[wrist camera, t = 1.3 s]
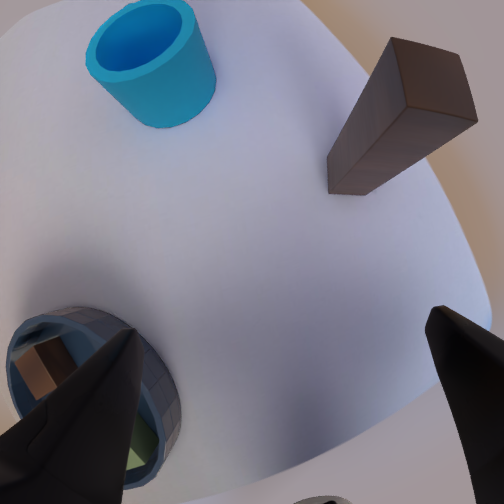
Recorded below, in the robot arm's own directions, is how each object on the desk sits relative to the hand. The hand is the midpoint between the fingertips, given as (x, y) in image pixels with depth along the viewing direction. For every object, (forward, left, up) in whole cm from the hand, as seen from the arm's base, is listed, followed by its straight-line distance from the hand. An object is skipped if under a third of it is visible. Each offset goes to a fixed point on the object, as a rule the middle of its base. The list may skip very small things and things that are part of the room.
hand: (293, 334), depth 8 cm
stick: (+4, -9, -15) cm, 17 cm away
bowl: (0, +20, -15) cm, 25 cm away
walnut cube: (+4, +22, -14) cm, 26 cm away
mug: (+21, -2, -15) cm, 26 cm away
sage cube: (-5, +19, -14) cm, 24 cm away
